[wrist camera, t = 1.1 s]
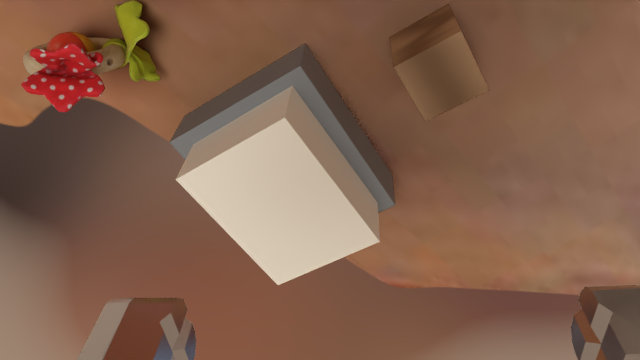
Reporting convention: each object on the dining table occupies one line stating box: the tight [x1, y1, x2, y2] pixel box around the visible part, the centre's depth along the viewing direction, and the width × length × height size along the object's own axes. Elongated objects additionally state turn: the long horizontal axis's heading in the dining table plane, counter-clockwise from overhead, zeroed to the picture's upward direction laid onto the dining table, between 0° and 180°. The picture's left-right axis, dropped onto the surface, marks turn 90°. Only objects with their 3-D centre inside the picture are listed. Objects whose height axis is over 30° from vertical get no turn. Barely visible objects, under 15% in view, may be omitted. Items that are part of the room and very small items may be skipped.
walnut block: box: [390, 4, 489, 121], centre depth 38 cm, size 5×5×6 cm
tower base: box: [170, 43, 395, 213], centre depth 45 cm, size 13×15×5 cm
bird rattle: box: [21, 0, 160, 112], centre depth 38 cm, size 6×11×9 cm
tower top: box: [176, 86, 380, 285], centre depth 41 cm, size 10×13×5 cm
